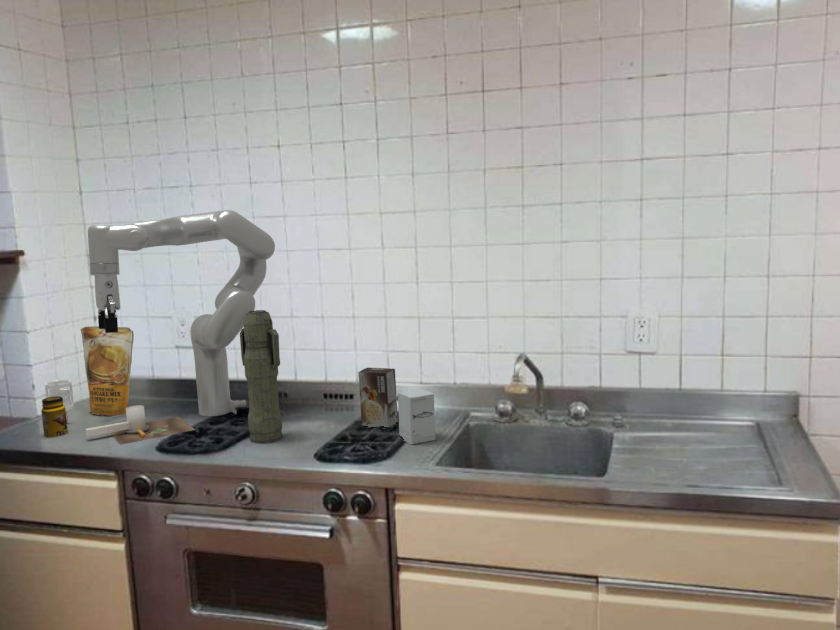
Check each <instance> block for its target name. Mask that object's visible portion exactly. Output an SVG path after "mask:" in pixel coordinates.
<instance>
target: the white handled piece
mask: <svg viewBox="0 0 840 630" xmlns="http://www.w3.org/2000/svg"><path fill="white" fill-rule="evenodd" d="M125 416H126V421H122V422H117V423H109V424H104V425H99V426H95V427H88V428H85V436H86V437H93V436H94V437H95V436H99V435H105V434H111V432H116V431H122V430H125V433H128V434H134V433H139V434H140V435H141V436H142V437H143V436H145V433H144V432H145V431H147V430H149V426H148V425H146V422H147V421H146V413H145V406H144V405H140V404H136V405H130V406H128V407H127V408H126V414H125Z"/></svg>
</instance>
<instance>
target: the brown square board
mask: <svg viewBox="0 0 840 630" xmlns="http://www.w3.org/2000/svg"><path fill="white" fill-rule="evenodd" d="M146 425H148V426H149V430H147V431H145V432H144V433H145V436H143V437H142V436H141V435H140V434H139V433H134V434H128V433H125V430H122V431H116V432H111V433H110V435H111V436H112V437H113V438H114V439H115V441H116V442H117V443H118V445H124V444H131V443H137V442H140V441H141V442H142V441H146V440H152V439H156V438H161V437H166V436H172V435H177V434H182V433H186V432H193V431H195V430H196V428H194V427H193V426H191V425H190V424H189V423H187V422H186V421H184V420H183V419H182V418H181V417H179V416H173V417H170V418H162V419H157V420H152V421H148V422H147V421H146Z"/></svg>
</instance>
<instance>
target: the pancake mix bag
mask: <svg viewBox="0 0 840 630" xmlns="http://www.w3.org/2000/svg"><path fill="white" fill-rule="evenodd" d="M80 332H81V340H82V348H83V358H84V367H85V369H84V370H85V373H86V374H85V375H86V381H87V388H88V393H89V395H88V397H89V412H90V411H91V412H92V413H93V414H99V415H107V416H106V417H115V416H116V417H117V416H121V415H122V416H123V415H126V408H127V407H129V396H130V382H131V370H132V369H131V368H132V367H131V366H132V362H133V361H132V359H133V358H132V357H133V356H132V355H133V344H134V340H135V339H134V330H132V329H131V328H130V327H127V326H125V327H124V326H123V327H121V326H118V332H113V333H106V332H105V329H99V326H84V327H82V328H80ZM92 413H91V414H92ZM99 415H98V416H99Z"/></svg>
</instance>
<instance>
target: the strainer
mask: <svg viewBox="0 0 840 630" xmlns="http://www.w3.org/2000/svg"><path fill="white" fill-rule="evenodd" d="M44 387H45V388H44V390H45V398H48V397H54V396H60V397H62V398H63V405H64V406H65V411H66V419H67V425H68V424H69V419H68V418H69V417H68V412H69V411H72V410H74V409H75V403H74V394H73V393H74V392H73V386H72V380H70V379H59V378H58V379H54V380H52V381H51V380H50V381H47V382H45V383H44ZM66 388H67V389H66Z"/></svg>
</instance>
